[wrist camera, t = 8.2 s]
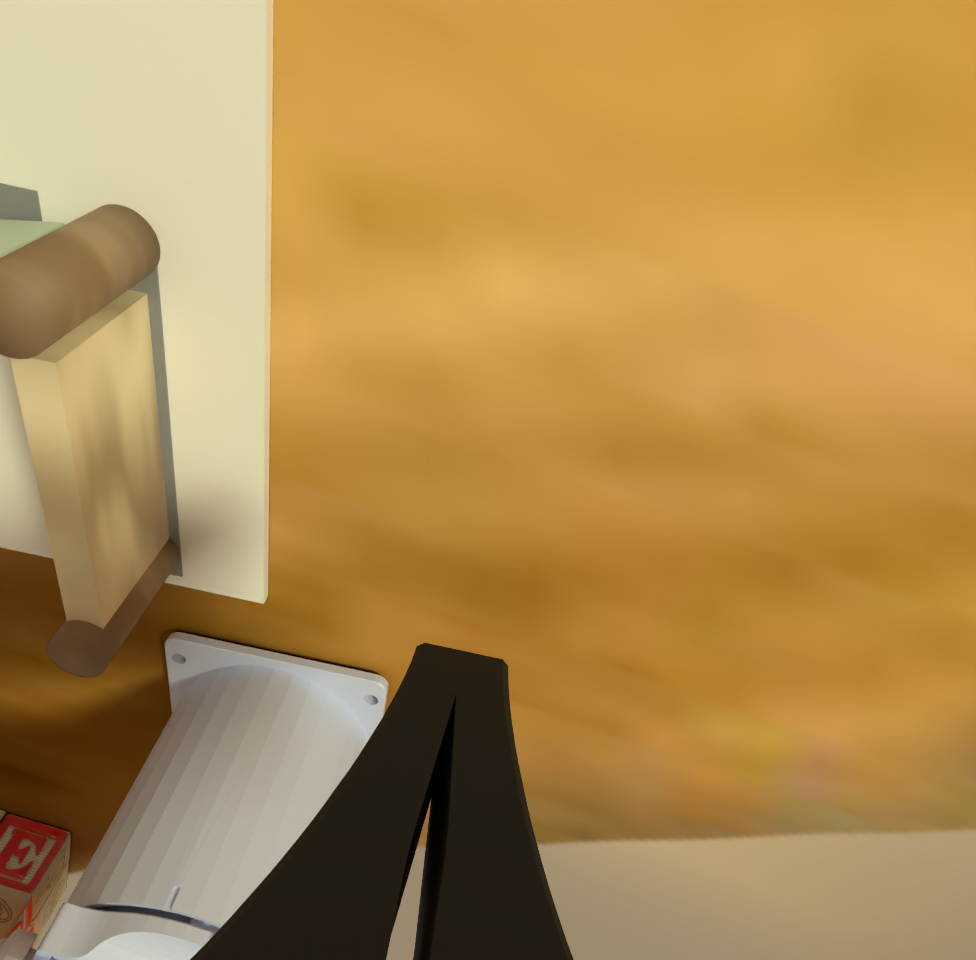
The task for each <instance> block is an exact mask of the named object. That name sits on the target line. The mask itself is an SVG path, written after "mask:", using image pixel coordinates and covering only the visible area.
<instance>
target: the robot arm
mask: <svg viewBox="0 0 976 960" xmlns="http://www.w3.org/2000/svg"><path fill="white" fill-rule="evenodd" d="M165 654H166V663H167V672H168V681H169V690H170V700H171V709H172V715H171V717H170V719H169V720H168V722H167V724H166V726H165V728H164V729H163V731H162V733H161V735H160V737H159V738H158V740H157V742H156V744H155V746H154V747H153V749H152V751H151V753H150V755H149V756H148V758H147V760H146V762H145V764H144V765H143V767H142V769H141V771H140V772H139V774H138V776H137V778H136V780H135V781H134V783H133V785H132V787H131V789H130V790H129V792H128V794H127V796H126V798H125V799H124V801H123V803H122V805H121V807H120V808H119V810H118V812H117V814H116V816H115V817H114V819H113V821H112V823H111V825H110V826H109V828H108V830H107V832H106V833H105V835H104V837H103V839H102V841H101V842H100V844H99V846H98V848H97V850H96V851H95V853H94V855H93V857H92V859H91V860H90V862H89V864H88V866H87V868H86V869H85V871H84V873H83V875H82V877H81V878H80V880H79V882H78V884H77V886H76V887H75V889H74V891H73V893H72V895H71V896H70V898H69V900H68V902H65V903H63V905H62V906H61V908H60V910H59V912H58V913H57V915H56V917H55V919H54V920H53V923H52V924H51V926H50V928H49V930H48V931H47V933H46V935H45V937H44V938H43V940H42V942H41V944H40V945H39V947H38V949H37V950H35V949H32V948H31V947H32V945H33V943H34V941H35V939H36V938H37V936H38V934H36V933H33V932H31V931H28V930H25V929H17V930H15V931H14V932H13V933H12V934H11V935H10V936H9V937H8V938H3V939H0V960H386V956H387V951H388V947H389V942H390V937H391V933H392V930H393V926H394V923H395V920H396V916H397V913H398V909H399V906H400V903H401V899H402V896H403V892H404V889H405V886H406V882H407V879H408V875H409V872H410V868H411V865H412V862H413V858H414V855H415V851H416V848H417V845H418V841H419V838H420V834H421V831H422V827H423V824H424V821H425V817H426V814H427V810H428V807H429V804H430V800H431V806H430V815H429V824H428V833H427V842H426V851H425V860H424V869H423V879H422V887H421V897H420V906H419V915H418V924H417V933H416V942H415V950H414V958H413V960H573V957H572V955H571V952H570V949H569V946H568V944H567V941H566V938H565V935H564V932H563V929H562V926H561V923H560V920H559V917H558V914H557V911H556V908H555V905H554V902H553V899H552V895H551V892H550V889H549V886H548V882H547V879H546V875H545V872H544V869H543V865H542V862H541V858H540V854H539V851H538V847H537V843H536V839H535V835H534V832H533V828H532V824H531V819H530V815H529V811H528V807H527V803H526V798H525V793H524V788H523V783H522V779H521V774H520V769H519V764H518V759H517V753H516V747H515V741H514V734H513V727H512V720H511V712H510V702H509V688H508V665H507V664H506V663H505V662H504V660H503V659H498V658H493V657H489V656H484V655H479V654H475V653H470V652H465V651H461V650H456V649H451V648H447V647H442V646H437V645H433V644H428V643H424V644H421V645H419V646H417V647H416V650H415V653H414V656H413V659H412V661H411V664H410V666H409V668H408V670H407V673H406V675H405V677H404V679H403V681H402V683H401V685H400V687H399V689H398V691H397V693H396V695H395V696H394V698H393V700H392V702H391V704H390V705H389V707H388V709H387V711H386V712H385V714H384V711H385V705H386V699H387V692H388V682H387V681H386V679H385V678H383V677H382V676H380V675H377V674H374V673H369V672H364V671H360V670H355V669H350V668H346V667H341V666H336V665H332V664H327V663H322V662H318V661H313V660H308V659H304V658H299V657H294V656H290V655H285V654H280V653H276V652H271V651H266V650H262V649H257V648H252V647H248V646H243V645H238V644H234V643H229V642H224V641H220V640H215V639H210V638H206V637H201V636H196V635H192V634H187V633H182V632H175V633H172V634H171V635H169V637H168V638H167V640H166V642H165Z"/></svg>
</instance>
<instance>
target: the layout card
mask: <svg viewBox="0 0 976 960" xmlns="http://www.w3.org/2000/svg"><path fill="white" fill-rule="evenodd" d="M272 100H273V0H0V219H5V220H25V221H44V222H64V224H65V225H66V224H68V223H70V222H72V221H74V220H76V219H78V218H79V217H81V216H83V215H85V214H87V213H89V212H91V211H93V210H95V209H97V208H99V207H101V206H103V205H108V204H117V205H122V206H125V207H128V208H130V209H132V210H134V211H135V212H137V213H138V214H140V215H141V216H142V217H143V218H144V219H145V220H146V221H147V222H148V223H149V224H150V226H151V227H152V229H153V230H154V232H155V234H156V236H157V238H158V241H159V245H160V260H159V263H158V265H157V266H156V268H155V269H154V271H153V272H152V273H151V274H149V275H148V276H147V277H145V278H144V279H143V280H141V281H140V282H138V283H137V284H136V285H134V286H133V287H131V288H130V289H129V290H132V291H137V292H141V293H146V294H147V297H148V307H149V318H150V329H151V340H152V351H153V362H154V373H155V384H156V395H157V405H158V416H159V427H160V438H161V449H162V460H163V471H164V482H165V493H166V504H167V514H168V525H169V536H170V539H172V540H173V541H174V542H175V544H176V545H177V547H178V548H179V551H180V560H179V562H178V563H177V565H176V566H175V568H174V569H173V570H172V572H171V573H170V575H169V576H168V578H167V579H166V581H165V582H164V583H169V584H174V585H178V586H183V587H188V588H192V589H197V590H202V591H206V592H211V593H216V594H220V595H225V596H230V597H234V598H239V599H244V600H248V601H253V602H258V603H262V604H264V602H265V600H266V598H267V596H268V529H269V421H270V314H271V207H272ZM0 547H1V548H6V549H11V550H15V551H20V552H25V553H29V554H34V555H39V556H43V557H48V558H53V555H52V550H51V546H50V541H49V536H48V532H47V527H46V522H45V518H44V513H43V509H42V504H41V499H40V495H39V490H38V485H37V481H36V476H35V471H34V467H33V462H32V457H31V453H30V448H29V444H28V439H27V434H26V430H25V425H24V420H23V416H22V411H21V406H20V402H19V397H18V393H17V388H16V383H15V379H14V374H13V369H12V365H11V360H10V357H6V356H3V355H1V354H0Z"/></svg>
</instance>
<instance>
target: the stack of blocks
mask: <svg viewBox="0 0 976 960" xmlns="http://www.w3.org/2000/svg"><path fill="white" fill-rule="evenodd" d="M70 843H71V841H70V832H68V831H65V830H62V829H59V828H55V827H52V826H49V825H45V824H42V823H39V822H35V821H32V820H29V819H25V818H22V817H19V816H15V815H12V814H9V815H7V813H6V811H3V810H0V939H3V938H8V937H9V936H10V935H11V934H12V933H13V932H14V931H15V930H17V929H25V930H28V931H31V932H33V933H36V934H38V936H37V938H36V939H35V941H34V943H33V945H32V947H31V948H32V949H33V946H34V945H35V944H36V942H37V940H38V938H39V937H40V935H41V933H42V931H43V929H44V927H45V926H46V924H47V922H48V920H49V919H50V917H51V915H52V913H53V911H54V910H55V908H56V906H57V904H58V902H59V901H60V899H61V897H62V895H63V893H64V891H65V890H66V888H67V877H68V861H69V858H70Z"/></svg>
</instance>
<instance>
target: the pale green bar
mask: <svg viewBox="0 0 976 960" xmlns="http://www.w3.org/2000/svg"><path fill="white" fill-rule="evenodd" d="M64 225H65V224H64V222H44V221H25V220H5V219H0V258H2V257H4V256H6V255H7V254H9V253H11V252H13V251H15V250H17V249H19V248H21V247H23V246H25V245H27V244H29V243H31V242H33V241H35V240H37V239H39V238H41V237H43V236H44V235H46V234H48V233H50V232H52V231H54V230H56V229H58V228H60V227H62V226H64Z"/></svg>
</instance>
